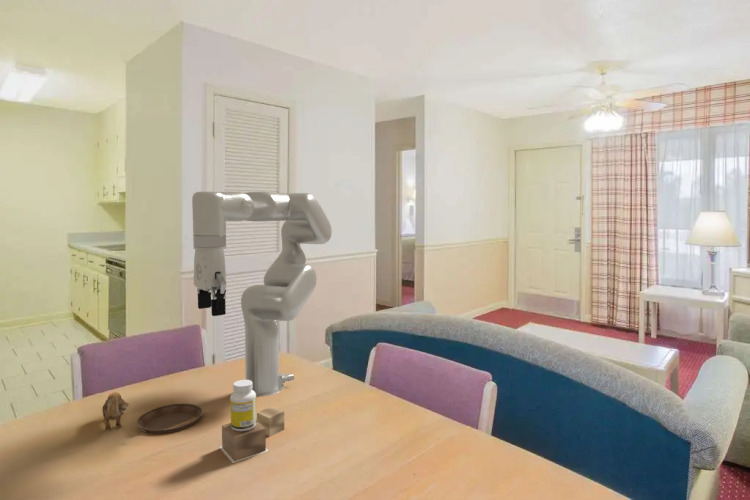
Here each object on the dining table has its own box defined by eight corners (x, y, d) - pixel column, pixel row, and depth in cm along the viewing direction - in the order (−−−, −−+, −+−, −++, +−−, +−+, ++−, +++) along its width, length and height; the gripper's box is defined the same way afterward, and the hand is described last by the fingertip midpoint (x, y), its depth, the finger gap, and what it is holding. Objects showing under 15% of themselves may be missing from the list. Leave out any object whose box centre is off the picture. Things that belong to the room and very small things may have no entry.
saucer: (122, 434, 109) (122, 423, 109) (170, 409, 123) (169, 399, 123) (171, 445, 104) (171, 434, 104) (215, 418, 118) (215, 408, 117)
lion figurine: (130, 432, 109) (129, 395, 109) (104, 438, 106) (103, 400, 106) (122, 410, 121) (121, 377, 121) (99, 414, 118) (97, 381, 118)
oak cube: (271, 424, 112) (271, 406, 112) (284, 429, 109) (284, 411, 109) (257, 430, 108) (256, 412, 108) (269, 436, 106) (269, 417, 105)
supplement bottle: (240, 419, 103) (240, 376, 102) (261, 423, 101) (261, 380, 101) (225, 429, 98) (224, 385, 97) (247, 434, 96) (246, 389, 96)
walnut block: (252, 437, 105) (252, 416, 104) (265, 450, 99) (265, 428, 99) (222, 447, 101) (221, 425, 100) (234, 461, 95) (234, 438, 95)
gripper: (183, 240, 116) (185, 307, 118) (206, 245, 103) (208, 320, 104) (212, 239, 121) (214, 303, 122) (238, 244, 107) (240, 316, 109)
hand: (211, 311), depth 113 cm, fingers open, 9 cm apart
